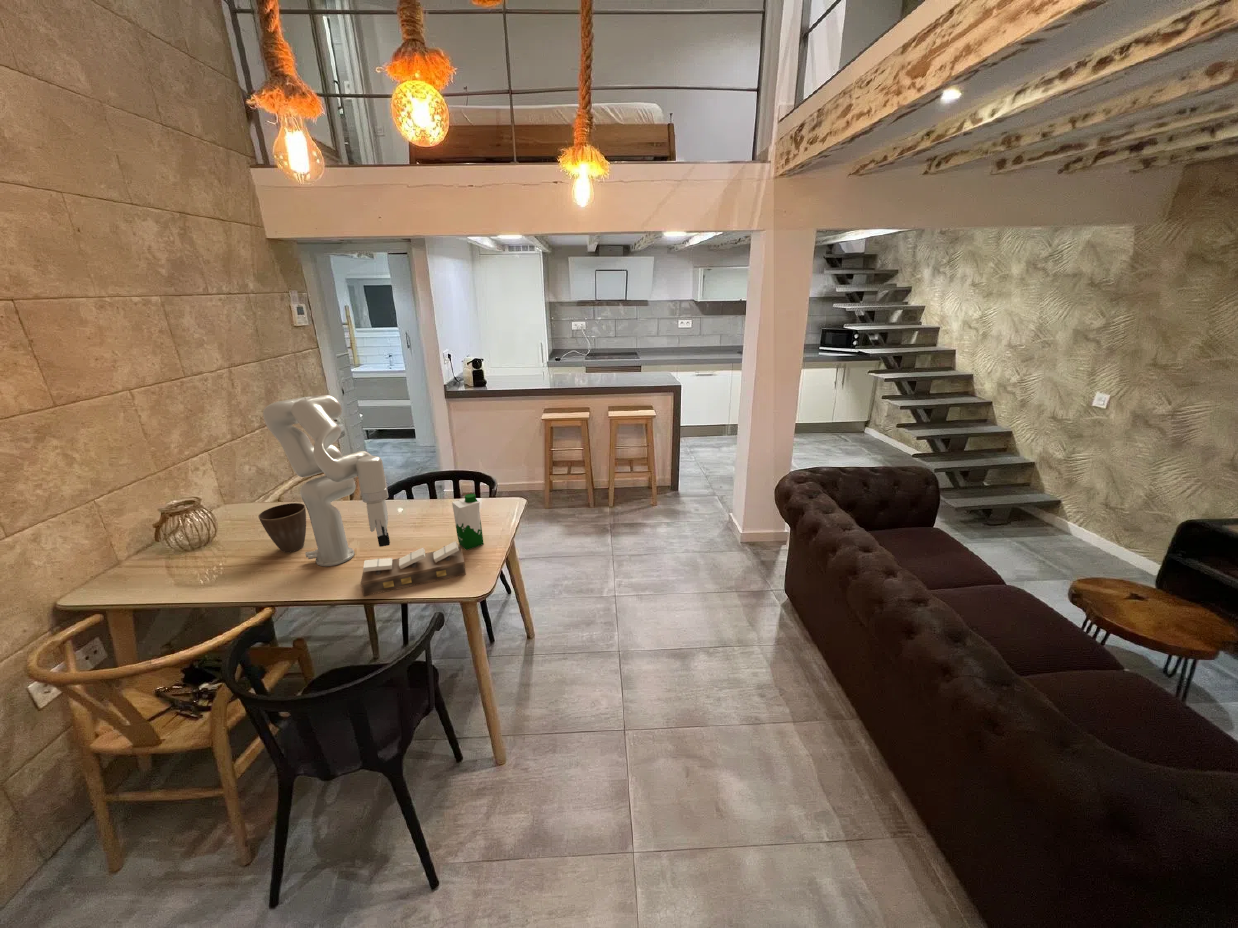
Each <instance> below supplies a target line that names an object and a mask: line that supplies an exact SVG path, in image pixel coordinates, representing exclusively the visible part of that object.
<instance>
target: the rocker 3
mask: <svg viewBox="0 0 1238 928" xmlns="http://www.w3.org/2000/svg"><path fill="white" fill-rule="evenodd" d="M458 544H459V543H458V541H456V540H455V541H452V542H451V543H449V544H447V545H444V546H443V547H441V548H440V549H438V550H436V552H434V551H433V552H434V553H433V555H434V561H435V562H438V561H440V560H442V559H444V558H446V557H447V556H449V555H451V554H453V553H455V552H457V551H459V549H458V547H459V545H458Z"/></svg>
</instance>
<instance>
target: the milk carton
mask: <svg viewBox="0 0 1238 928" xmlns="http://www.w3.org/2000/svg"><path fill="white" fill-rule="evenodd" d="M451 504H452V505H451V506H452V510H453V511H452V512H453V516H454V523H455V529H456V536H457V540H458V541H457V542H458V544H459V545H460V546H461V548H463V549H464V550H465V551H469V550H471V549H474V548H477V547H481V546H484V544H485V543H484V538H483V537H484V535H483V534H484V533H483V527H482V521H481V520H482V519H481V512H480V504H481V503H480V502H479V500H478V499H477V495H476V493H468V494H464V498H460V499H458V500H454V501H451Z"/></svg>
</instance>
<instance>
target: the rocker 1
mask: <svg viewBox="0 0 1238 928" xmlns="http://www.w3.org/2000/svg"><path fill="white" fill-rule="evenodd" d="M392 560H393V557H391V558H390V557H388V558H375V559H364V562H363V569H362V573H363V572H364V571H376V570H387V569H392Z"/></svg>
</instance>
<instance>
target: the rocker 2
mask: <svg viewBox="0 0 1238 928" xmlns="http://www.w3.org/2000/svg"><path fill="white" fill-rule="evenodd" d="M425 553H426V550H425V548H424V547H421V548H418V549H417V550H415V551H412V552H410V553H408V554H406V555H404V556H403V557H399V558H400V559H399V567H400V568H401V569H403V568H405V567H407V566H409V565H411V564H413V563H415V562H417V561H419V560H421V559H423V558H425Z"/></svg>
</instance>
